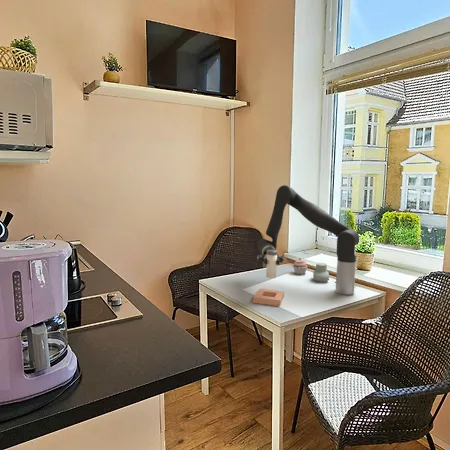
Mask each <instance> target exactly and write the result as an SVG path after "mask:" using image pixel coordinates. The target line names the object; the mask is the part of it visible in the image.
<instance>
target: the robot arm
mask: <svg viewBox="0 0 450 450" xmlns="http://www.w3.org/2000/svg"><path fill="white" fill-rule="evenodd" d="M275 194H276V195H275V201H274V205H273V209H272V213H271V216H270V220H269V223H268V225H267V228H266V231H265V235H266V236H268V237H269V238H271V239H272V241H271V240H268V239H266V238H262V239H260V240H259V241H258V244H257V248H258V251H259V252H260V253H261V254H257V257H256V259H257V261H259V263H263V264H265V265H267V250H277V247H278V246H277V245H278V243H277V242H278V237H279V233H280V230H281V228H282V224H283V218H284V212H285V209H286V206H287V205H289V206H290V207H292V208H294V209H295V210H296V211H297V212H298V213H300V214H301V215H302V216H303V218H305V219H306V220H307V221H309V222H310V223H311V224H312V225H314V226H315V227H316V228H317V227H318V228H319V229H322V230H323V231H327V232H329V233H331V234H332V235H334V236H335V237H337V238H336V256H337V262H336V263H337V264H336V275H335V276H336V277H335V292H336V293H337V294H340V295H346V296H350V295H355V284H356V283H355V282H356V263H357V256H356V254H355V252H356V251H355V250H356V245H358V243H359V242H360V235H359V234H358V232H357V231H356V230H354V229H353V228H351V227H349V226H347V225H345V224H343V223H342V222H340V221H339V220H338V219H336V218H335V217H333V216H332V215H331V214H329V213H328V212H326V210H324V209H323V208H322V207H319V206H318V205H317V204H315V203H312V202H311V201H309V200H307V199H305V198H303V197H302V196H301V195H300V194H299V192H297V191H296V190H295V189H294V188H292V187H290V186H289V185H287V184H284V185H280V186H279V188H278V189H277V190H276V193H275ZM284 261H285V255H284V254H282V255H279V254H277V266H278V265H279V264H280V263H281V264H282V263H283V262H284Z"/></svg>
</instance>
